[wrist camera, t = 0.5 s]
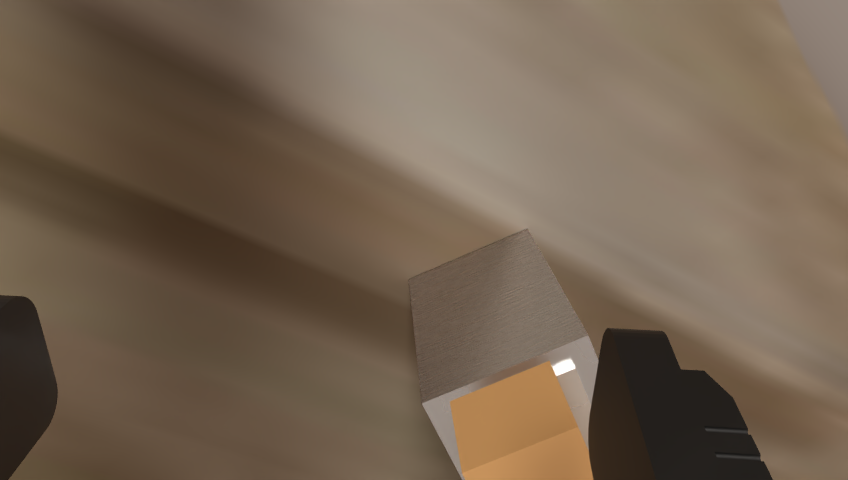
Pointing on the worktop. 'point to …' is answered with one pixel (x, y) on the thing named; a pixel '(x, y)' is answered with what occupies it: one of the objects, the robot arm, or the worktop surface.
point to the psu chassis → (496, 330)
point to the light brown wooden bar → (520, 430)
